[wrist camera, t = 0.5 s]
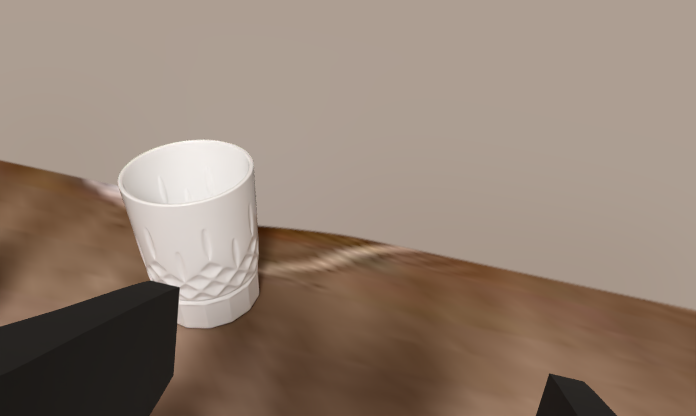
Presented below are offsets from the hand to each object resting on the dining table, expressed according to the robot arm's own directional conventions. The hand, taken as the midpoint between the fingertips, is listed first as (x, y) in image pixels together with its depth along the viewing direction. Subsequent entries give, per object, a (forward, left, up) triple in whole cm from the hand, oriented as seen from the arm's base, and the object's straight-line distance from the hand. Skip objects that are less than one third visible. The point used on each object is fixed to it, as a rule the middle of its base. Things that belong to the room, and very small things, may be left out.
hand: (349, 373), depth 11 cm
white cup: (+23, +9, -19) cm, 31 cm away
